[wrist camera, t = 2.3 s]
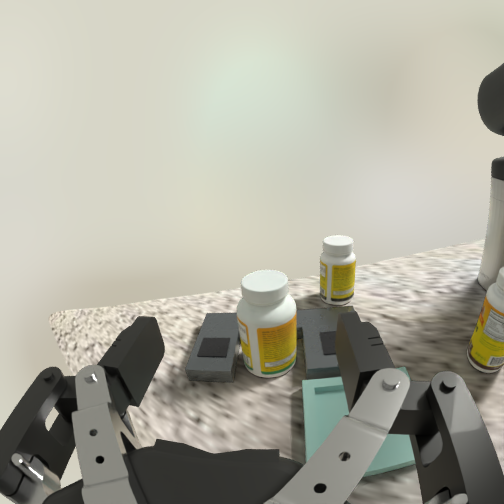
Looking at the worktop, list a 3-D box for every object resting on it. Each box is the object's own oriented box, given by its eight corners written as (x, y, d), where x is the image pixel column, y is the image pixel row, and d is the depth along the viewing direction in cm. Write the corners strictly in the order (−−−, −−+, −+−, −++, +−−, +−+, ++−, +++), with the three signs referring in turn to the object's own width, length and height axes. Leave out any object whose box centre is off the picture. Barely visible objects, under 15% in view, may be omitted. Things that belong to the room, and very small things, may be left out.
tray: (401, 374, 21) (404, 366, 21) (433, 457, 12) (439, 450, 12) (301, 388, 23) (302, 380, 22) (306, 484, 13) (307, 479, 13)
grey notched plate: (351, 316, 32) (352, 305, 31) (371, 372, 23) (374, 360, 22) (208, 323, 34) (206, 312, 33) (189, 380, 25) (184, 368, 24)
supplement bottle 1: (234, 369, 26) (219, 288, 22) (260, 340, 30) (252, 263, 27) (282, 386, 23) (278, 300, 20) (304, 351, 27) (304, 270, 24)
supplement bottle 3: (478, 336, 23) (502, 258, 19) (509, 357, 18) (541, 276, 14) (456, 357, 21) (485, 271, 17) (490, 383, 16) (530, 295, 12)
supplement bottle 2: (358, 294, 37) (362, 237, 34) (343, 309, 34) (346, 249, 31) (330, 285, 40) (331, 232, 37) (313, 299, 37) (312, 242, 34)
